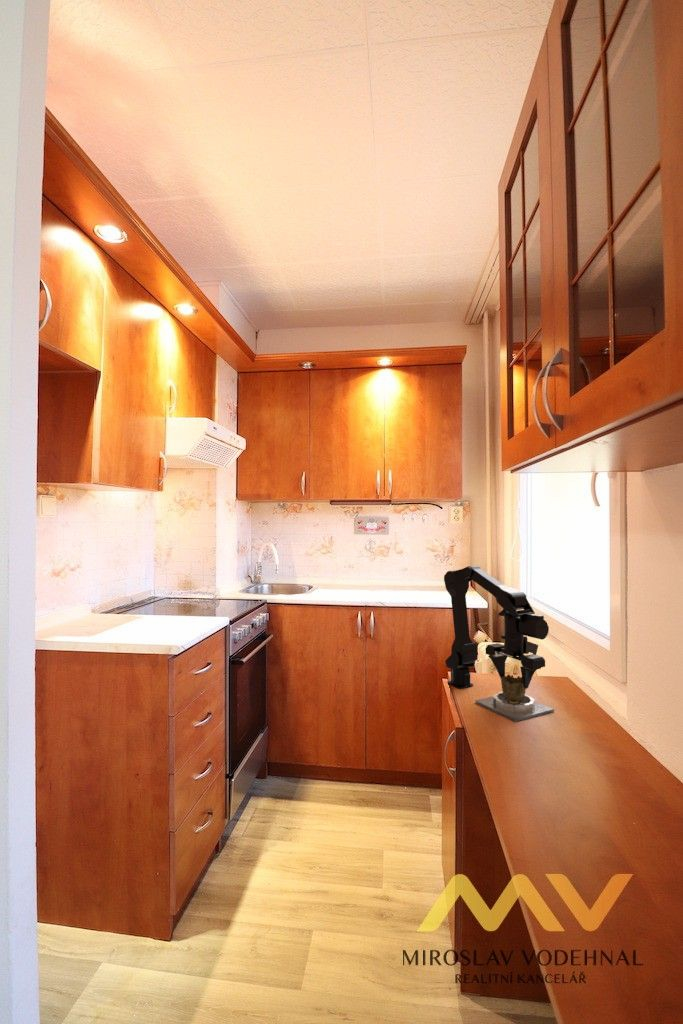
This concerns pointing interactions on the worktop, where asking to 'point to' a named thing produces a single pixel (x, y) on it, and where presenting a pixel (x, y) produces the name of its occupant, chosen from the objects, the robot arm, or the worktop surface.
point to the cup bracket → (514, 707)
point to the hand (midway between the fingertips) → (514, 683)
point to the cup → (513, 688)
